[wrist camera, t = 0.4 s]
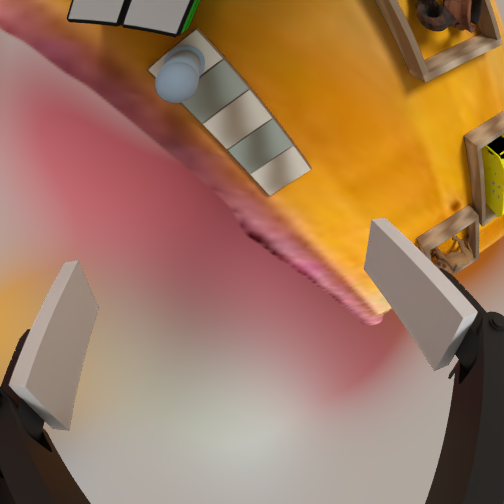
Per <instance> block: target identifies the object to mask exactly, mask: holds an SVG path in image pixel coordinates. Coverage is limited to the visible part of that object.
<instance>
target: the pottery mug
mask: <svg viewBox="0 0 504 504" xmlns="http://www.w3.org/2000/svg"><path fill="white" fill-rule="evenodd" d="M416 8H417V17H418V19H419V21H420V23H421V24H422V25H424V26H425V27H426V28H427V29H430V30H433V31H443V30H445V29H446V28H447V27H448V26H449V25H452V26H454V27H457V28H458V29H459V30H468V31H469V32H471V33H472V32H474V31H475V27H474V26H472V25H471V22H472V23H474V24H477V25H478V24H479V21H480V16H481V11H482V0H443V5H438V3H437V2H436V0H418V2H417V3H416Z"/></svg>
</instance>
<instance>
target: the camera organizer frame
mask: <svg viewBox="0 0 504 504" xmlns="http://www.w3.org/2000/svg"><path fill="white" fill-rule="evenodd" d="M502 134H504V111H503V112H501V113H499V114H498V115H496V116H494V117H493V118H491V119H490V120H488V121H486V122H485V123H483V124H482V125H480V126H478V127H477V128H475V129H473V130H472V131H470V132H469V133H467V134H465V135H464V139H465V145H466V151H467V157H468V164H469V171H470V180H471V189H472V200H473V210H474V211H475V212H476V213H477V214H478V216H479V223H480V224H481V226H484V225H485V224H487V223H488V222H490V221H491V220H492V219H494V218H495V217H497V215H496V214H495V213H494V212H493V210H492V209H491V208H490V207H489V206H488V205H487V204H485V183H484V169H483V158H482V149H481V148H483V147H484V146H486V145H487V144H489V143H490V142H492V141H493V140H495V139H496V138H498V137H499V136H501V135H502Z"/></svg>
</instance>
